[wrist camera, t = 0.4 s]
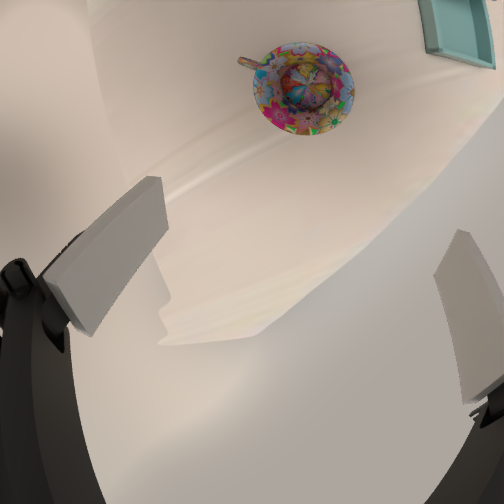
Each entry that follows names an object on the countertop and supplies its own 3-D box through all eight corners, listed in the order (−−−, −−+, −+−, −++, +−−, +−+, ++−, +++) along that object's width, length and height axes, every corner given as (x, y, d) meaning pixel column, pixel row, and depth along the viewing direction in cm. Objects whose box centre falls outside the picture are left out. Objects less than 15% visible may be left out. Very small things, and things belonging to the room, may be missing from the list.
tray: (412, -22, 14) (422, -31, 10) (467, -5, 11) (482, -10, 8) (425, 52, 21) (439, 51, 17) (479, 67, 18) (495, 69, 15)
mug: (356, 73, 26) (371, 74, 18) (323, 130, 32) (325, 152, 24) (269, 32, 25) (249, 18, 17) (241, 91, 31) (213, 100, 23)
